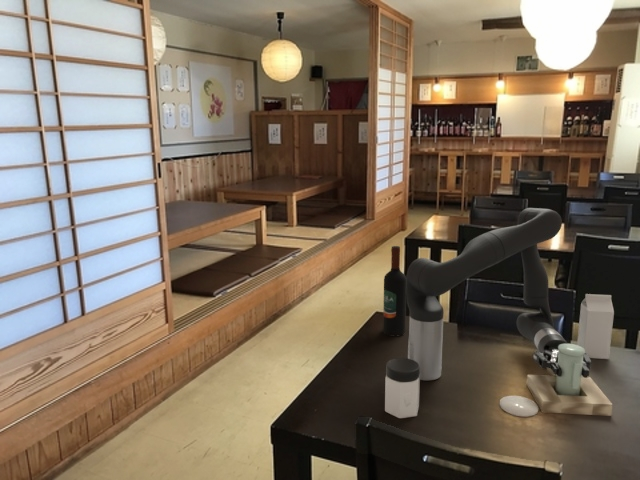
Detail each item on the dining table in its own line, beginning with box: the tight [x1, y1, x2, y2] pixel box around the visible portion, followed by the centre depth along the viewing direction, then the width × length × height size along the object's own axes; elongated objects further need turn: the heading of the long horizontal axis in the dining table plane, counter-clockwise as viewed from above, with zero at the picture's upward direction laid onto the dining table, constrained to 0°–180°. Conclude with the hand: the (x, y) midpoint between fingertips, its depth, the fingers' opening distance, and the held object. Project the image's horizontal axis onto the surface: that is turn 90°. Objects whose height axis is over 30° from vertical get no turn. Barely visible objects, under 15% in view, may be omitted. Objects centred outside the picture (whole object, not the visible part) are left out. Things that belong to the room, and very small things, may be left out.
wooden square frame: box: [526, 374, 613, 417], centre depth 132 cm, size 16×14×3 cm
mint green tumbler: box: [555, 343, 585, 396], centre depth 130 cm, size 6×8×14 cm
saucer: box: [499, 395, 539, 418], centre depth 129 cm, size 9×9×1 cm
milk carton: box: [576, 293, 615, 360], centre depth 156 cm, size 7×7×19 cm
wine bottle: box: [382, 245, 407, 337], centre depth 174 cm, size 8×8×30 cm
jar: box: [384, 357, 421, 419], centre depth 127 cm, size 9×8×12 cm
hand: (573, 373), depth 128 cm, fingers closed on mint green tumbler, 5 cm apart
